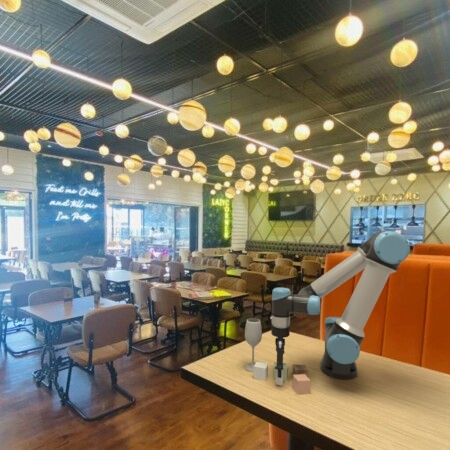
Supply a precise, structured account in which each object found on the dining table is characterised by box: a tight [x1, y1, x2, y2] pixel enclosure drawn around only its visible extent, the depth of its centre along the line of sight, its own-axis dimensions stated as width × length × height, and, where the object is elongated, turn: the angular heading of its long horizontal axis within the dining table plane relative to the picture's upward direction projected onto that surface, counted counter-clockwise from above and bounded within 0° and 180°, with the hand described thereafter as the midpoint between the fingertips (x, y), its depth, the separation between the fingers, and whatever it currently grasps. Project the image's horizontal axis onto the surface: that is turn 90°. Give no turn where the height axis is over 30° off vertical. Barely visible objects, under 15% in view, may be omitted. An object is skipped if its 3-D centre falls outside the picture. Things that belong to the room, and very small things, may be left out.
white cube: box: [253, 361, 269, 381], centre depth 127 cm, size 5×5×5 cm
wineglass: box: [244, 317, 263, 373], centre depth 135 cm, size 8×8×21 cm
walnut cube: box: [292, 364, 309, 378], centre depth 125 cm, size 5×5×5 cm
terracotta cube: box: [292, 374, 311, 395], centre depth 116 cm, size 5×5×5 cm
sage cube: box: [273, 361, 288, 382], centre depth 127 cm, size 5×5×5 cm
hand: (279, 376), depth 127 cm, fingers open, 13 cm apart
